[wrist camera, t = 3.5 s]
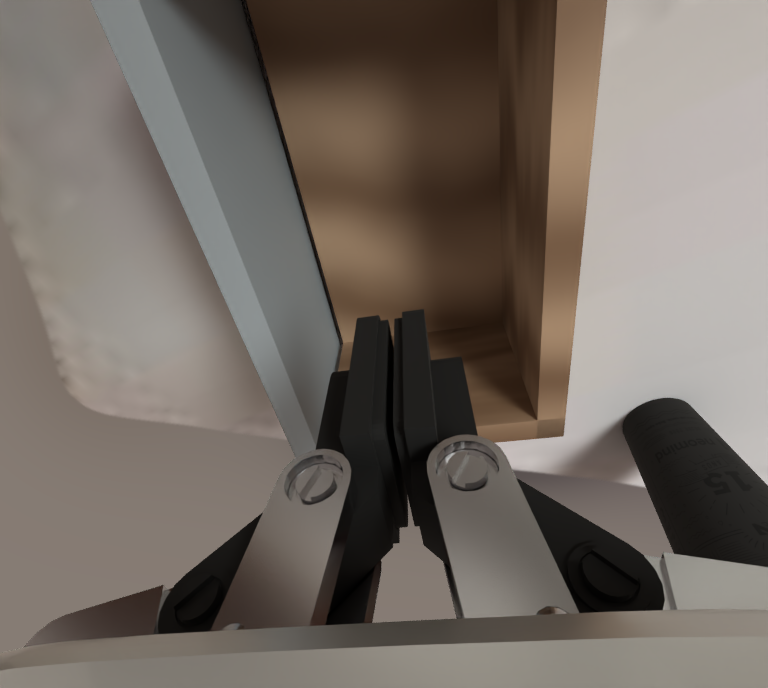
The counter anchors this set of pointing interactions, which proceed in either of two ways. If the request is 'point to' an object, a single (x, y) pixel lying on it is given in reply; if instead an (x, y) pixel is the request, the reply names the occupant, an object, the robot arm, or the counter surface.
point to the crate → (448, 177)
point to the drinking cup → (698, 484)
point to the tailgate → (233, 188)
